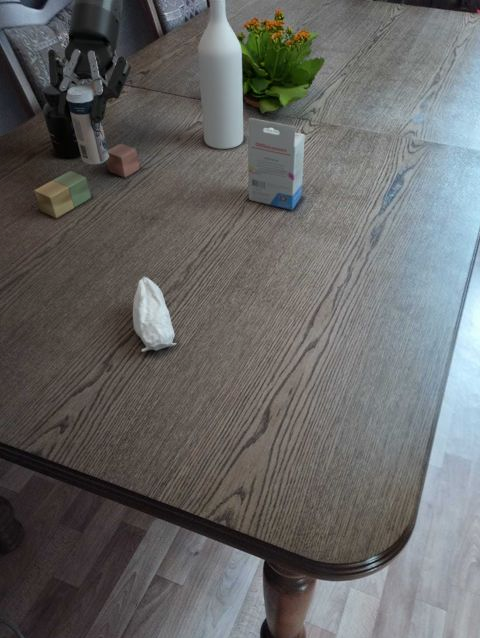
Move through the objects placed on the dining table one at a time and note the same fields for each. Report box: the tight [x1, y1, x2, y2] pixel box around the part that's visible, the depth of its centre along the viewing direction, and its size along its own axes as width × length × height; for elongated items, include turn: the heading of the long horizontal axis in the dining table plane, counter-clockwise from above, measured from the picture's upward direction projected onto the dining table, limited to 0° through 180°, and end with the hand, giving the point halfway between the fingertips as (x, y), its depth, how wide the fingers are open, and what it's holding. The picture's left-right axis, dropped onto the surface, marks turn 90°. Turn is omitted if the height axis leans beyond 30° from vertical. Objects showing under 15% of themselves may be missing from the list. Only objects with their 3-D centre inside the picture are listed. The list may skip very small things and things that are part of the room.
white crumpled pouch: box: [132, 275, 177, 353], centre depth 73 cm, size 5×7×10 cm
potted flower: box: [236, 9, 326, 115], centre depth 121 cm, size 25×24×18 cm
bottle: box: [197, 0, 244, 150], centre depth 102 cm, size 8×8×30 cm
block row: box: [33, 143, 140, 219], centre depth 98 cm, size 4×20×4 cm, turn 146°
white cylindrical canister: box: [66, 85, 109, 166], centre depth 93 cm, size 5×5×12 cm
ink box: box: [247, 117, 306, 211], centre depth 92 cm, size 8×5×15 cm, turn 66°
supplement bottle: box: [42, 84, 81, 159], centre depth 105 cm, size 7×7×12 cm
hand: (80, 119), depth 90 cm, fingers closed on white cylindrical canister, 5 cm apart
